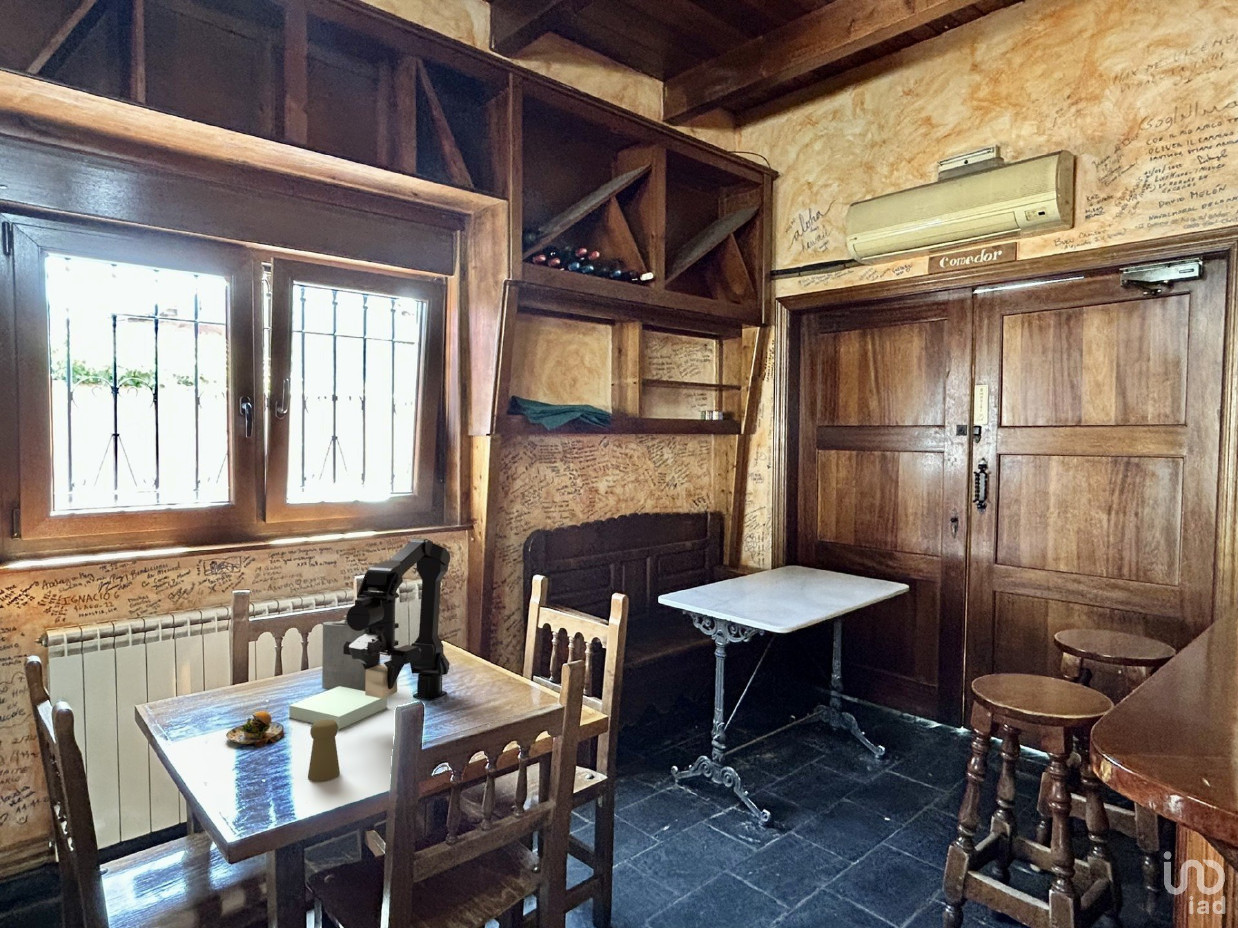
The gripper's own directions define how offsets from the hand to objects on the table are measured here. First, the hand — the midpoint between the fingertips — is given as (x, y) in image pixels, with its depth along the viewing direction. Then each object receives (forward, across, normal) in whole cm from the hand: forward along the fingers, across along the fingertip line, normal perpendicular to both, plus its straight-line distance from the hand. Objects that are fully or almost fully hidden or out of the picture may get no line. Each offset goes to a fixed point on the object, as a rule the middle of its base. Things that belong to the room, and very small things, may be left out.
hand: (381, 686), depth 172 cm
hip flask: (+10, -28, +19) cm, 35 cm away
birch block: (+2, 0, 0) cm, 2 cm away
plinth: (+10, -17, +4) cm, 20 cm away
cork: (+10, +6, -23) cm, 26 cm away
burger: (+11, -22, -16) cm, 29 cm away
